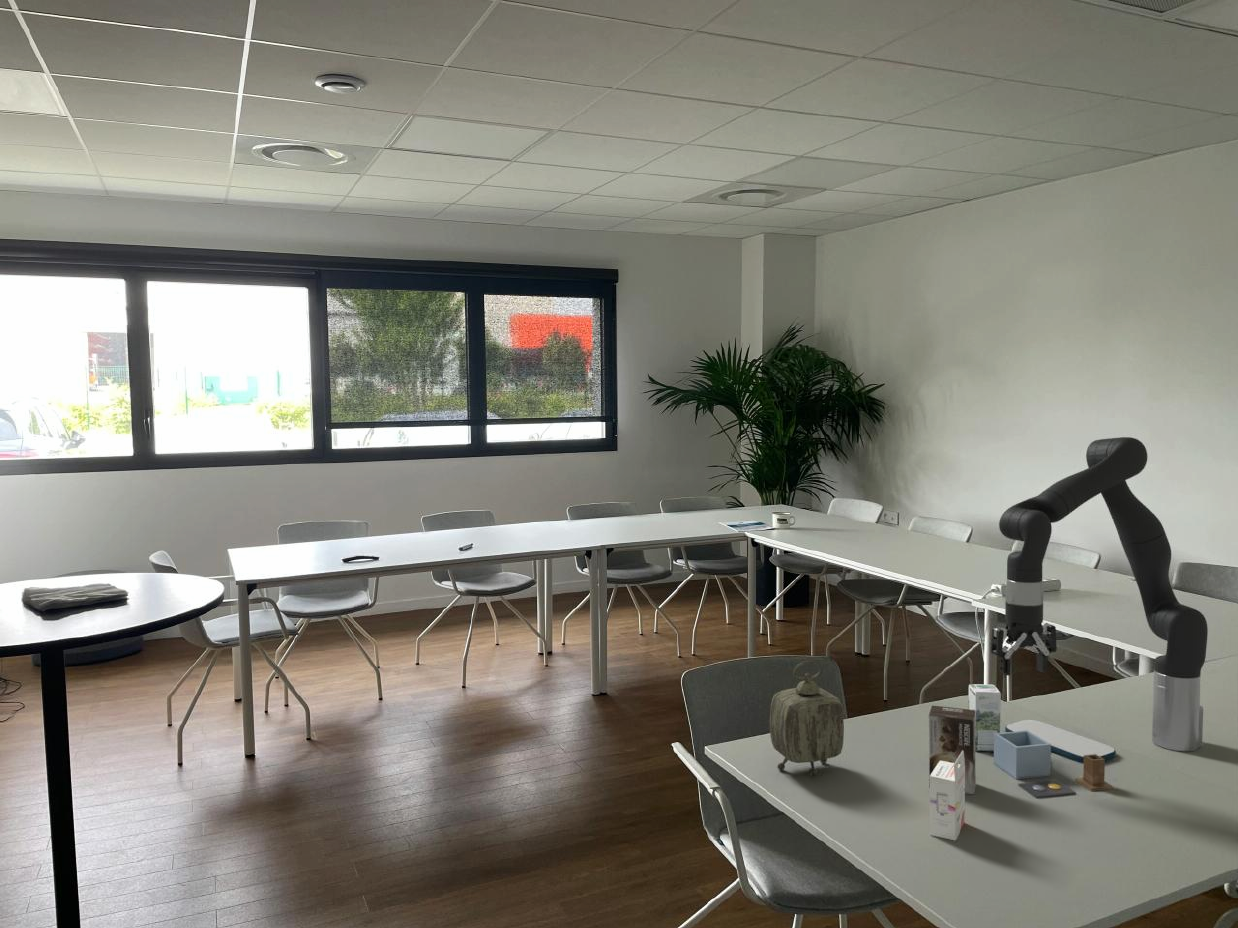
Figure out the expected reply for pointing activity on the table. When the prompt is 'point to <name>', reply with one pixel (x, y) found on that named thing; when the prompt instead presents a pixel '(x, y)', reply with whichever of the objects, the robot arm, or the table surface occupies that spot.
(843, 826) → the table surface
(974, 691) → the syrup box
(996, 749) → the blue open box
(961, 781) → the ink cartridge box
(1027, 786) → the card
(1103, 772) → the brown square ball stand
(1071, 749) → the white rounded slab
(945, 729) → the coffee box
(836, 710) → the tabletop clock
